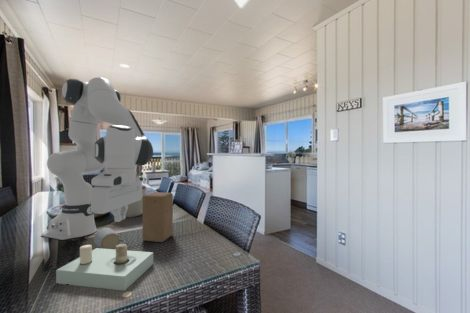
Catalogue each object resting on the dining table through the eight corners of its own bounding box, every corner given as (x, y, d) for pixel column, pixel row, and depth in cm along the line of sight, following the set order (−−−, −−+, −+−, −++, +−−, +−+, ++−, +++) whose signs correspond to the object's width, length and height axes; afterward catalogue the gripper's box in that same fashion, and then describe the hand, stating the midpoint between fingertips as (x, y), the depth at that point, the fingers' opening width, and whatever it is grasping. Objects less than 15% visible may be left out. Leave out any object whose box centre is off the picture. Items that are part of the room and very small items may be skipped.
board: (56, 283, 69) (56, 253, 69) (96, 259, 85) (96, 234, 85) (124, 290, 66) (124, 258, 66) (153, 263, 82) (153, 238, 81)
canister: (121, 211, 152) (121, 179, 151) (150, 211, 154) (150, 178, 153) (110, 219, 134) (109, 182, 133) (143, 219, 136) (142, 182, 135)
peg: (113, 276, 73) (113, 247, 73) (119, 270, 77) (119, 243, 76) (123, 277, 73) (123, 248, 73) (129, 271, 76) (129, 244, 76)
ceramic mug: (101, 254, 89) (101, 234, 89) (93, 248, 94) (93, 229, 94) (129, 246, 97) (129, 228, 96) (120, 241, 102) (120, 224, 102)
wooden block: (162, 243, 100) (162, 196, 100) (141, 241, 102) (141, 195, 102) (173, 235, 110) (173, 192, 109) (153, 233, 112) (153, 191, 111)
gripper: (131, 173, 85) (130, 211, 85) (86, 180, 65) (86, 230, 65) (147, 174, 84) (146, 212, 84) (107, 181, 64) (106, 232, 64)
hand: (120, 220), depth 74 cm, fingers closed
